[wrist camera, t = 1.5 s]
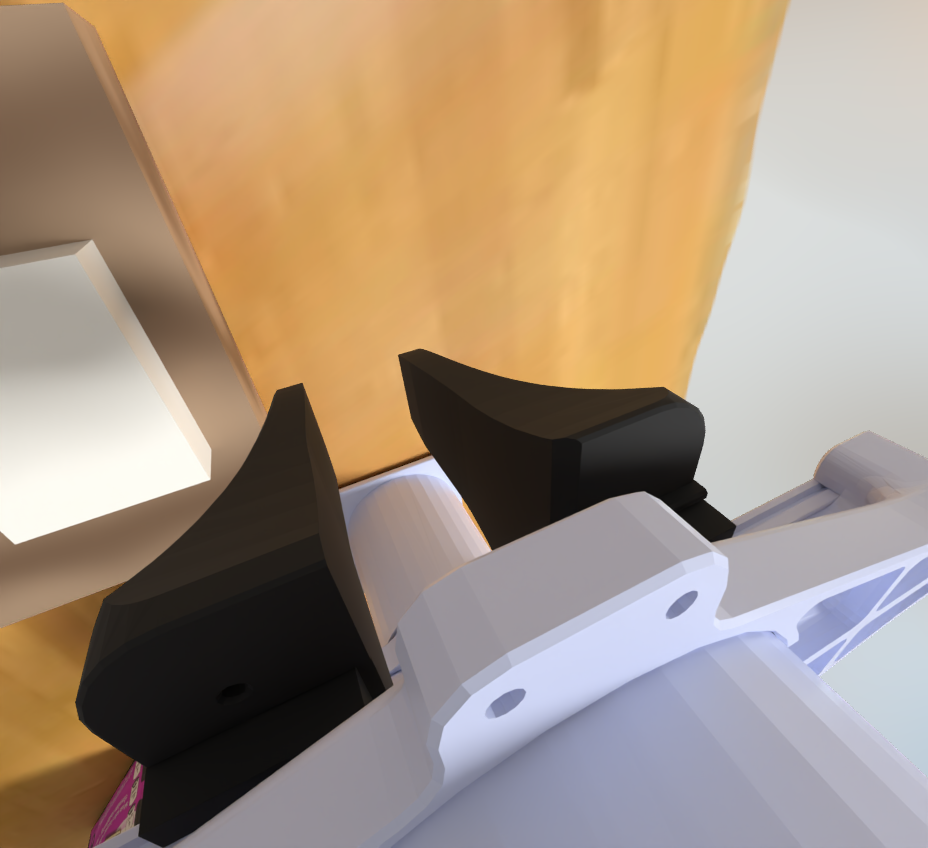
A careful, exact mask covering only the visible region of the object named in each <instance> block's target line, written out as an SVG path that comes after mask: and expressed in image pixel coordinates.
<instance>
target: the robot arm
mask: <svg viewBox="0 0 928 848" xmlns="http://www.w3.org/2000/svg"><path fill="white" fill-rule="evenodd" d="M398 357H399V362H400V366H401V371H402V376H403V381H404V386H405V390H406V395H407V400H408V405H409V409H410V414H411V419H412V421H413V423H414V425H415V427H416V429H417V431H418V433H419V435H420V437H421V438H422V440H423V442H424V444H425V446H426V447H427V449H428V450H429V452H430V453H431V456H429V457H426V458H423V459H420V460H418V461H415V462H412V463H409V464H407V465H404V466H401V467H399V468H396V469H393V470H390V471H388V472H385V473H382V474H379V475H377V476H374V477H371V478H368V479H366V480H363V481H360V482H357V483H355V484H352V485H349V486H346V487H344V488H341V489H338V484H337V479H336V475H335V472H334V469H333V466H332V463H331V460H330V457H329V454H328V451H327V448H326V446H325V443H324V440H323V437H322V435H321V432H320V429H319V427H318V424H317V421H316V418H315V416H314V413H313V410H312V408H311V405H310V402H309V399H308V397H307V394H306V391H305V389H304V386H303V383H300V384H297V385H293V386H290V387H286V388H283V389H279V390H277V391H276V393H275V395H274V397H273V400H272V403H271V406H270V409H269V412H268V414H267V417H266V420H265V422H264V424H263V426H262V429H261V431H260V433H259V435H258V437H257V440H256V442H255V443H254V445H253V447H252V449H251V451H250V452H249V454H248V456H247V458H246V460H245V462H244V463H243V465H242V466H241V468H240V470H239V471H238V472H237V474H236V475H235V477H234V478H233V479H232V481H231V482H230V483H229V485H228V486H227V487H226V489H225V490H224V491H223V492H222V493H221V495H220V496H219V497H218V498H217V499H216V500H215V501H214V502H213V504H212V505H211V506H210V507H209V508H208V509H207V510H206V511H205V513H204V514H203V515H202V516H201V517H200V518H199V519H198V520H197V521H196V522H195V523H194V524H193V525H192V526H191V527H190V528H189V529H188V530H187V531H186V532H185V533H184V534H183V535H182V536H181V537H180V538H179V539H177V540H176V541H175V542H174V543H173V544H172V545H171V546H170V547H169V548H168V549H166V550H165V551H164V552H163V553H162V554H161V555H159V556H158V557H157V558H156V559H155V560H154V561H152V562H151V563H150V564H149V565H147V566H146V567H145V568H143V569H142V570H141V571H140V572H138V573H137V574H136V575H135V576H133V577H132V578H131V579H129V580H128V581H127V582H126V583H124V584H123V585H122V586H121V587H119V588H118V589H117V590H115V591H114V592H113V593H111V594H110V595H109V596H107V597H106V598H105V599H104V600H103V603H102V606H101V609H100V611H99V614H98V617H97V620H96V623H95V626H94V629H93V632H92V636H91V640H90V644H89V648H88V652H87V656H86V660H85V665H84V669H83V673H82V677H81V681H80V685H79V689H78V694H77V698H76V702H75V703H76V708H77V712H78V716H79V720H80V721H81V722H82V723H83V724H84V725H85V726H86V727H87V728H88V729H89V730H90V731H91V732H92V733H93V734H95V735H97V736H98V737H100V738H101V739H103V740H104V741H106V742H107V743H109V744H111V745H112V746H114V747H115V748H117V749H118V750H120V751H121V752H123V753H124V754H126V755H128V756H129V757H131V758H132V759H134V760H135V761H137V762H138V763H140V764H142V765H143V766H145V767H146V771H145V780H144V789H143V798H142V806H141V815H140V824H138V825H136V826H134V827H132V828H130V829H128V830H126V831H124V832H123V833H121V834H119V835H117V836H115V837H113V838H111V839H109V840H107V841H105V842H103V843H101V844H99V845H97V846H95V847H93V848H928V777H927V776H926V775H924V774H923V773H922V772H921V771H920V770H919V769H918V768H917V767H916V766H915V765H914V764H913V763H912V762H911V761H909V760H908V759H907V758H906V757H905V756H904V755H903V754H902V753H901V752H900V751H899V750H898V749H896V748H895V747H894V746H893V745H892V744H891V743H890V742H889V741H888V740H887V739H886V738H885V737H884V736H883V735H881V734H880V733H879V732H878V731H877V730H876V729H875V728H874V727H873V726H872V725H871V724H870V723H869V722H868V721H866V720H865V719H864V718H863V717H862V716H861V715H860V714H859V713H858V712H857V711H856V710H855V709H854V708H852V707H851V706H850V705H849V704H848V703H847V702H846V701H845V700H844V699H843V698H842V697H841V696H840V695H838V694H837V693H836V692H835V691H834V690H833V689H832V688H831V687H830V686H829V685H828V684H827V683H825V681H823V680H822V679H821V678H820V676H821V675H822V674H823V673H824V672H826V671H827V670H829V669H830V668H831V667H832V666H834V665H835V664H836V663H837V662H839V661H840V660H841V659H843V658H844V657H845V656H846V655H848V654H849V653H850V652H851V651H853V650H854V649H855V648H857V647H858V646H859V645H860V644H862V643H863V642H864V641H866V640H867V639H868V638H869V637H871V636H872V635H874V634H875V633H876V632H877V631H879V630H880V629H881V628H883V627H884V626H885V625H887V624H888V623H889V622H891V621H892V620H893V619H895V618H896V617H897V616H899V615H900V614H902V613H903V612H904V611H906V610H907V609H908V608H910V607H911V606H912V605H914V604H915V603H917V602H918V601H919V600H921V599H922V598H924V597H925V596H926V595H928V458H925V457H923V456H921V455H919V454H917V453H915V452H913V451H911V450H909V449H906V448H905V447H903V446H901V445H898V444H896V443H894V442H892V441H890V440H888V439H886V438H884V437H882V436H880V435H877V434H875V433H873V432H871V431H865V432H862V433H860V434H858V435H856V436H854V437H852V438H850V439H848V440H846V441H844V442H842V443H840V444H838V445H836V446H834V447H833V448H831V449H830V450H829V451H828V452H827V453H826V454H825V455H824V456H823V457H822V459H821V460H820V462H819V464H818V465H817V467H816V470H815V473H814V478H813V479H811V480H809V481H807V482H806V483H804V484H802V485H800V486H798V487H796V488H794V489H792V490H790V491H788V492H786V493H784V494H782V495H780V496H778V497H776V498H774V499H772V500H770V501H768V502H767V503H765V504H763V505H761V506H759V507H757V508H755V509H753V510H751V511H749V512H747V513H745V514H743V515H741V516H739V517H737V518H735V519H733V520H731V521H730V520H729V519H727V518H726V517H725V516H724V515H723V514H721V513H720V512H719V511H717V510H716V509H715V508H714V507H712V506H711V505H710V504H708V503H707V502H706V501H705V500H703V499H705V498H706V497H707V494H708V493H707V491H706V489H705V488H704V487H703V486H701V485H700V484H699V483H697V482H696V481H695V480H693V478H694V475H695V472H696V468H697V465H698V461H699V458H700V454H701V451H702V447H703V443H704V437H705V423H704V417H703V415H702V413H701V412H700V410H699V409H698V408H697V407H695V406H694V405H692V404H691V403H689V402H687V401H686V400H684V399H682V398H681V397H679V396H678V395H676V394H674V393H673V392H671V391H670V390H668V389H666V388H665V387H654V388H636V389H577V388H565V387H555V386H546V385H539V384H533V383H528V382H523V381H518V380H513V379H509V378H505V377H501V376H497V375H494V374H491V373H487V372H484V371H481V370H478V369H475V368H472V367H469V366H466V365H463V364H461V363H458V362H455V361H453V360H450V359H448V358H445V357H443V356H440V355H438V354H435V353H432V352H430V351H427V350H424V349H417V350H413V351H410V352H406V353H403V354H399V355H398ZM461 497H462V498H463V500H464V501H465V503H466V504H467V506H468V507H469V509H470V510H471V512H472V514H473V516H474V517H475V519H476V521H477V523H478V525H479V527H480V528H481V530H482V532H483V534H484V536H485V537H486V539H487V541H488V543H489V545H490V547H491V549H492V551H491V550H490V548H489V547H488V545H487V544H486V542H485V541H484V539H483V537H482V536H481V534H480V533H479V531H478V529H477V528H476V526H475V525H474V523H473V521H472V520H471V518H470V517H469V515H468V514H467V512H466V510H465V509H464V507H463V505H462V498H461ZM364 593H365V595H364ZM365 596H366V598H365ZM366 599H367V601H366ZM367 603H368V604H367ZM368 606H369V608H368ZM369 609H370V611H369ZM370 613H371V614H370ZM371 616H372V617H371ZM372 619H373V620H372ZM373 622H374V623H373Z"/></svg>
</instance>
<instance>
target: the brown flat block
mask: <svg viewBox="0 0 928 848" xmlns="http://www.w3.org/2000/svg"><path fill="white" fill-rule="evenodd" d="M91 239H92V240H93V242H94V243H95V245H96V247H97V249H98V250H99V252H100V254H101V256H102V257H103V259H104V261H105V263H106V265H107V266H108V268H109V270H110V272H111V273H112V275H113V277H114V279H115V280H116V282H117V284H118V286H119V287H120V289H121V291H122V293H123V294H124V296H125V298H126V300H127V302H128V303H129V305H130V307H131V309H132V310H133V312H134V314H135V316H136V317H137V319H138V321H139V323H140V324H141V326H142V328H143V330H144V331H145V333H146V335H147V337H148V339H149V340H150V342H151V344H152V346H153V347H154V349H155V351H156V353H157V354H158V356H159V358H160V360H161V361H162V363H163V365H164V367H165V368H166V370H167V372H168V374H169V376H170V377H171V379H172V381H173V383H174V384H175V386H176V388H177V390H178V391H179V393H180V395H181V397H182V398H183V400H184V402H185V404H186V405H187V407H188V409H189V411H190V413H191V414H192V416H193V418H194V420H195V421H196V423H197V425H198V427H199V428H200V430H201V432H202V434H203V435H204V437H205V439H206V441H207V442H208V444H209V446H210V448H211V478H210V480H208V481H205V482H202V483H199V484H196V485H193V486H190V487H187V488H184V489H181V490H178V491H175V492H172V493H169V494H166V495H163V496H160V497H157V498H154V499H151V500H148V501H145V502H142V503H139V504H136V505H133V506H130V507H127V508H124V509H121V510H118V511H115V512H112V513H109V514H106V515H103V516H100V517H97V518H94V519H91V520H88V521H85V522H82V523H79V524H76V525H73V526H70V527H67V528H64V529H61V530H58V531H55V532H52V533H49V534H46V535H43V536H39V537H36V538H33V539H30V540H27V541H24V542H21V543H18V544H14V543H13V542H12V541H11V540H9V539H8V538H7V537H6V536H5V535H4V534H3V533H2V532H1V531H0V628H3V627H5V626H8V625H11V624H13V623H16V622H19V621H21V620H24V619H27V618H29V617H32V616H35V615H37V614H40V613H43V612H45V611H48V610H51V609H53V608H56V607H59V606H62V605H64V604H67V603H70V602H72V601H75V600H78V599H80V598H83V597H86V596H88V595H91V594H94V593H96V592H99V591H102V590H104V589H107V588H110V587H112V586H115V585H118V584H121V583H123V582H126V581H128V580H129V579H131V578H132V577H133V576H135V575H136V574H137V573H138V572H140V571H141V570H142V569H143V568H145V567H146V566H147V565H149V564H150V563H151V562H152V561H154V560H155V559H156V558H157V557H158V556H159V555H161V554H162V553H163V552H164V551H165V550H166V549H168V548H169V547H170V546H171V545H172V544H173V543H174V542H175V541H176V540H177V539H179V538H180V537H181V536H182V535H183V534H184V533H185V532H186V531H187V530H188V529H189V528H190V527H191V526H192V525H193V524H194V523H195V522H196V521H197V520H198V519H199V518H200V517H201V516H202V515H203V514H204V513H205V511H206V510H207V509H208V508H209V507H210V506H211V505H212V504H213V502H214V501H215V500H216V499H217V498H218V497H219V496H220V495H221V493H222V492H223V491H224V490H225V489H226V487H227V486H228V485H229V483H230V482H231V481H232V479H233V478H234V477H235V475H236V474H237V472H238V471H239V470H240V468H241V466H242V465H243V463H244V462H245V460H246V458H247V456H248V454H249V452H250V451H251V449H252V447H253V445H254V443H255V442H256V440H257V437H258V435H259V433H260V431H261V429H262V426H263V424H264V422H265V420H266V417H267V413H266V411H265V409H264V406H263V404H262V402H261V400H260V397H259V395H258V393H257V391H256V388H255V386H254V384H253V382H252V379H251V377H250V375H249V373H248V370H247V368H246V366H245V364H244V361H243V359H242V357H241V355H240V352H239V350H238V348H237V346H236V343H235V341H234V339H233V337H232V334H231V332H230V330H229V328H228V325H227V323H226V321H225V319H224V316H223V314H222V312H221V310H220V307H219V305H218V303H217V301H216V298H215V296H214V294H213V292H212V289H211V287H210V285H209V283H208V280H207V278H206V276H205V274H204V271H203V269H202V267H201V265H200V262H199V260H198V258H197V256H196V253H195V251H194V249H193V247H192V244H191V242H190V240H189V238H188V235H187V233H186V231H185V229H184V226H183V224H182V222H181V220H180V217H179V215H178V213H177V211H176V208H175V206H174V204H173V202H172V199H171V197H170V195H169V193H168V190H167V188H166V186H165V184H164V181H163V179H162V177H161V175H160V172H159V170H158V168H157V166H156V163H155V161H154V159H153V157H152V154H151V152H150V150H149V148H148V145H147V143H146V141H145V139H144V136H143V134H142V132H141V130H140V127H139V125H138V123H137V121H136V118H135V116H134V114H133V112H132V109H131V107H130V105H129V103H128V100H127V98H126V96H125V94H124V91H123V89H122V87H121V85H120V82H119V80H118V78H117V76H116V73H115V71H114V69H113V67H112V64H111V62H110V60H109V58H108V55H107V53H106V51H105V49H104V46H103V44H102V42H101V40H100V37H99V35H98V33H97V31H96V28H95V27H94V26H93V25H91V24H90V23H89V22H88V21H86V20H85V19H84V18H82V17H81V16H80V15H78V14H77V13H76V12H75V11H73V10H72V9H71V8H69V7H68V6H67V5H65V4H64V3H49V4H29V5H9V6H0V256H2V255H8V254H13V253H19V252H24V251H30V250H36V249H41V248H47V247H52V246H58V245H63V244H69V243H75V242H80V241H86V240H91Z"/></svg>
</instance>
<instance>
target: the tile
mask: <svg viewBox="0 0 928 848" xmlns="http://www.w3.org/2000/svg"><path fill="white" fill-rule="evenodd" d="M210 478H211V448H210V446H209V444H208V442H207V441H206V439H205V437H204V435H203V434H202V432H201V430H200V428H199V427H198V425H197V423H196V421H195V420H194V418H193V416H192V414H191V413H190V411H189V409H188V407H187V405H186V404H185V402H184V400H183V398H182V397H181V395H180V393H179V391H178V390H177V388H176V386H175V384H174V383H173V381H172V379H171V377H170V376H169V374H168V372H167V370H166V368H165V367H164V365H163V363H162V361H161V360H160V358H159V356H158V354H157V353H156V351H155V349H154V347H153V346H152V344H151V342H150V340H149V339H148V337H147V335H146V333H145V331H144V330H143V328H142V326H141V324H140V323H139V321H138V319H137V317H136V316H135V314H134V312H133V310H132V309H131V307H130V305H129V303H128V302H127V300H126V298H125V296H124V294H123V293H122V291H121V289H120V287H119V286H118V284H117V282H116V280H115V279H114V277H113V275H112V273H111V272H110V270H109V268H108V266H107V265H106V263H105V261H104V259H103V257H102V256H101V254H100V252H99V250H98V249H97V247H96V245H95V243H94V242H93V240H92V239H91V240H86V241H80V242H75V243H69V244H63V245H58V246H52V247H47V248H41V249H36V250H30V251H24V252H19V253H13V254H8V255H2V256H0V531H1V532H2V533H3V534H4V535H5V536H6V537H7V538H8V539H9V540H11V541H12V542H13V543H14V544H18V543H21V542H24V541H27V540H30V539H33V538H36V537H39V536H43V535H46V534H49V533H52V532H55V531H58V530H61V529H64V528H67V527H70V526H73V525H76V524H79V523H82V522H85V521H88V520H91V519H94V518H97V517H100V516H103V515H106V514H109V513H112V512H115V511H118V510H121V509H124V508H127V507H130V506H133V505H136V504H139V503H142V502H145V501H148V500H151V499H154V498H157V497H160V496H163V495H166V494H169V493H172V492H175V491H178V490H181V489H184V488H187V487H190V486H193V485H196V484H199V483H202V482H205V481H208V480H210Z"/></svg>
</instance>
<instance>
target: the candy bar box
mask: <svg viewBox="0 0 928 848" xmlns="http://www.w3.org/2000/svg"><path fill="white" fill-rule="evenodd" d="M145 771H146V767H145V766H143V765H142V764H140V763H138V762H137V761H135V760H134V762H133V763H132V765H131V767H130V769H129V770H128V772H127V774H126V775H125V777H124V779H123V780H122V782H121V783H120V785H119V787H118V788H117V790H116V792H115V793H114V795H113V797H112V798H111V800H110V802H109V803H108V805H107V807H106V808H105V810H104V811H103V813H102V815H101V816H100V818H99V820H98V821H97V823H96V824H95V826H94V828H93V829H92V831H91V835H90V840H89V845H88V848H93V847H95V846H97V845H99V844H101V843H103V842H105V841H107V840H109V839H111V838H113V837H115V836H117V835H119V834H121V833H123V832H124V831H126V830H128V829H130V828H132V827H134V826H136V825H138V824H140V815H141V806H142V798H143V789H144V780H145Z"/></svg>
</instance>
